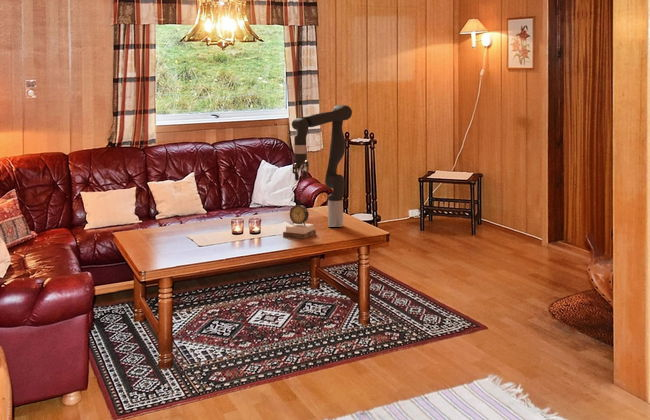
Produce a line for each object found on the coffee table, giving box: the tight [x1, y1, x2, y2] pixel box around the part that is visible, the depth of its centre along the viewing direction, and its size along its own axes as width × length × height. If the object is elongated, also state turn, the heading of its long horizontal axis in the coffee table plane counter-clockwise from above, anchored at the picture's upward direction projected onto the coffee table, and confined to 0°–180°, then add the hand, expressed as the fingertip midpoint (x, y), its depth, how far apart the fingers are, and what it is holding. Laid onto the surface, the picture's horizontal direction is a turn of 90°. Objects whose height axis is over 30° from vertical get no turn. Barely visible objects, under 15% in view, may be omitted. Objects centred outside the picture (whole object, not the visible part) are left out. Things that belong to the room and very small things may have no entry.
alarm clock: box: [289, 197, 309, 226], centre depth 419 cm, size 11×5×16 cm, turn 61°
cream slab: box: [285, 222, 315, 234], centre depth 420 cm, size 12×12×4 cm
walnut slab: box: [282, 229, 317, 240], centre depth 421 cm, size 14×14×4 cm
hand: (300, 179), depth 424 cm, fingers open, 8 cm apart
